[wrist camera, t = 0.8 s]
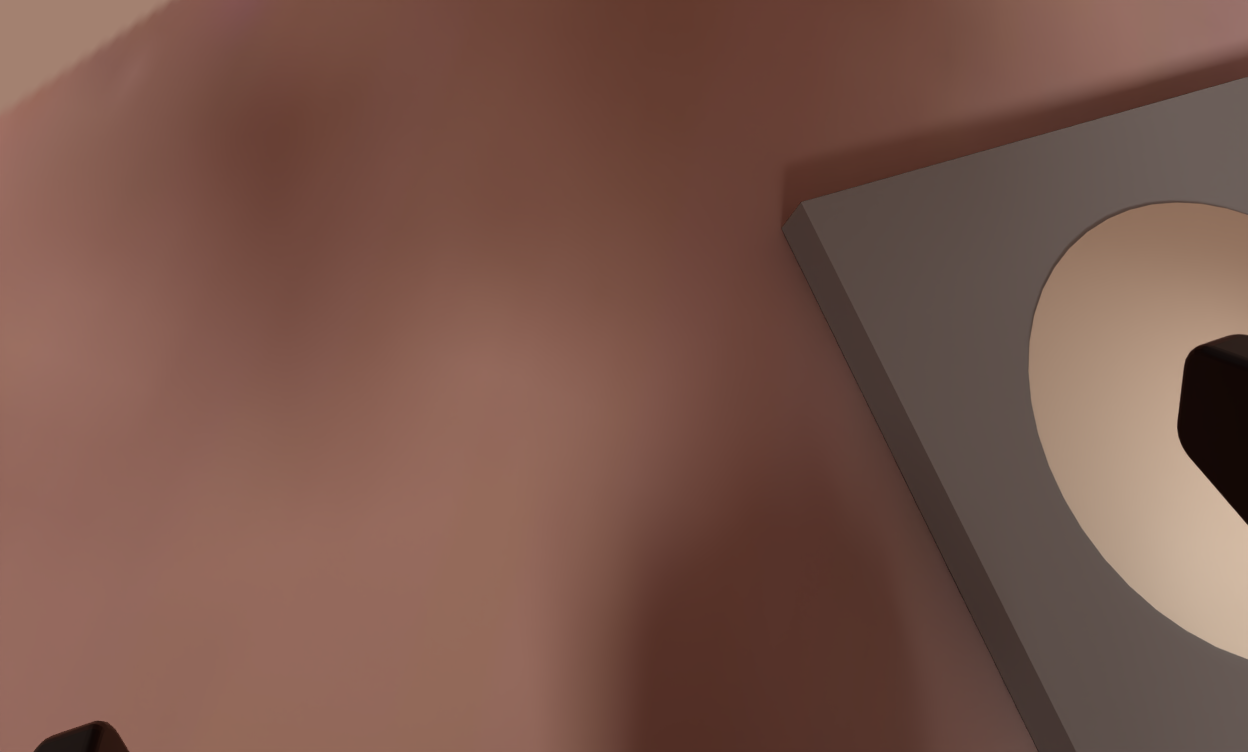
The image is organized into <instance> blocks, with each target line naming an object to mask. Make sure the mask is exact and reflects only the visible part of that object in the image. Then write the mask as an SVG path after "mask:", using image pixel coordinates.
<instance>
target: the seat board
mask: <svg viewBox="0 0 1248 752" xmlns="http://www.w3.org/2000/svg"><path fill="white" fill-rule="evenodd" d="M782 230H783V232H784V234H785V236H786V239H787V241H788V243H789V245H790V247H791V249H792V251H793V253H794V255H795V257H796V259H797V261H798V263H799V265H800V267H801V269H802V271H803V273H804V275H805V277H806V279H807V281H808V283H809V285H810V287H811V289H812V291H813V293H814V295H815V297H816V300H817V302H818V304H819V306H820V308H821V310H822V312H823V314H824V316H825V318H826V320H827V322H828V324H829V326H830V328H831V330H832V332H833V334H834V336H835V338H836V340H837V342H838V344H839V346H840V348H841V350H842V352H843V354H844V356H845V358H846V361H847V363H848V365H849V367H850V369H851V371H852V373H853V375H854V377H855V379H856V381H857V383H858V385H859V387H860V389H861V391H862V393H863V395H864V397H865V399H866V401H867V403H868V405H869V407H870V409H871V411H872V413H873V415H874V417H875V420H876V422H877V424H878V426H879V428H880V430H881V432H882V434H883V436H884V438H885V440H886V442H887V444H888V446H889V448H890V450H891V452H892V454H893V456H894V458H895V460H896V462H897V464H898V466H899V468H900V470H901V472H902V474H903V476H904V478H905V481H906V483H907V485H908V487H909V489H910V491H911V493H912V495H913V497H914V499H915V501H916V503H917V505H918V507H919V509H920V511H921V513H922V515H923V517H924V519H925V521H926V523H927V525H928V527H929V529H930V531H931V533H932V535H933V537H934V540H935V542H936V544H937V546H938V548H939V550H940V552H941V554H942V556H943V558H944V560H945V562H946V564H947V566H948V568H949V570H950V572H951V574H952V576H953V578H954V580H955V582H956V584H957V586H958V588H959V590H960V592H961V594H962V596H963V598H964V601H965V603H966V605H967V607H968V609H969V611H970V613H971V615H972V617H973V619H974V621H975V623H976V625H977V627H978V629H979V631H980V633H981V635H982V637H983V639H984V641H985V643H986V645H987V647H988V649H989V651H990V653H991V655H992V657H993V659H994V662H995V664H996V666H997V668H998V670H999V672H1000V674H1001V676H1002V678H1003V680H1004V682H1005V684H1006V686H1007V688H1008V690H1009V692H1010V694H1011V696H1012V698H1013V700H1014V702H1015V704H1016V706H1017V708H1018V710H1019V712H1020V714H1021V716H1022V718H1023V721H1024V723H1025V725H1026V727H1027V729H1028V731H1029V733H1030V735H1031V737H1032V739H1033V741H1034V743H1035V745H1036V747H1037V749H1038V751H1039V752H1248V525H1247V524H1246V523H1245V522H1244V520H1243V519H1242V518H1241V517H1240V516H1239V515H1238V513H1237V512H1236V511H1235V510H1234V509H1233V508H1232V506H1231V505H1230V504H1229V503H1228V502H1227V501H1226V499H1225V498H1224V497H1223V496H1222V495H1221V494H1220V493H1219V491H1218V490H1217V489H1216V488H1215V487H1214V486H1213V484H1212V483H1211V482H1210V481H1209V480H1208V479H1207V477H1206V476H1205V475H1204V474H1203V473H1202V472H1201V470H1200V469H1199V468H1198V467H1197V466H1196V465H1195V464H1194V462H1193V461H1192V460H1191V459H1190V458H1189V456H1188V455H1187V454H1186V452H1185V451H1184V449H1183V447H1182V445H1181V443H1180V440H1179V437H1178V432H1177V419H1178V411H1179V403H1180V394H1181V386H1182V377H1183V369H1184V363H1185V359H1186V358H1187V356H1188V354H1189V353H1190V351H1191V350H1192V349H1194V348H1195V347H1197V346H1199V345H1201V344H1204V343H1207V342H1210V341H1213V340H1216V339H1219V338H1222V337H1225V336H1228V335H1233V334H1245V335H1248V77H1245V78H1242V79H1238V80H1235V81H1231V82H1228V83H1224V84H1220V85H1217V86H1213V87H1210V88H1206V89H1203V90H1199V91H1195V92H1192V93H1188V94H1185V95H1181V96H1178V97H1174V98H1170V99H1167V100H1163V101H1160V102H1156V103H1153V104H1149V105H1146V106H1142V107H1138V108H1135V109H1131V110H1128V111H1124V112H1121V113H1117V114H1113V115H1110V116H1106V117H1103V118H1099V119H1096V120H1092V121H1088V122H1085V123H1081V124H1078V125H1074V126H1071V127H1067V128H1064V129H1060V130H1056V131H1053V132H1049V133H1046V134H1042V135H1039V136H1035V137H1031V138H1028V139H1024V140H1021V141H1017V142H1014V143H1010V144H1006V145H1003V146H999V147H996V148H992V149H989V150H985V151H982V152H978V153H974V154H971V155H967V156H964V157H960V158H957V159H953V160H949V161H946V162H942V163H939V164H935V165H932V166H928V167H924V168H921V169H917V170H914V171H910V172H907V173H903V174H900V175H896V176H892V177H889V178H885V179H882V180H878V181H875V182H871V183H867V184H864V185H860V186H857V187H853V188H850V189H846V190H842V191H839V192H835V193H832V194H828V195H825V196H821V197H818V198H814V199H810V200H807V201H803V202H801V203H800V204H799V206H798V207H797V208H796V210H795V211H794V212H793V214H792V215H791V216H790V218H789V219H788V220H787V222H786V223H785V224H784V226H783V227H782Z"/></svg>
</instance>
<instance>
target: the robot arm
mask: <svg viewBox="0 0 1248 752" xmlns="http://www.w3.org/2000/svg"><path fill="white" fill-rule="evenodd" d="M1177 432H1178V437H1179V440H1180V443H1181V445H1182V447H1183V449H1184V451H1185V452H1186V454H1187V455H1188V456H1189V458H1190V459H1191V460H1192V461H1193V462H1194V464H1195V465H1196V466H1197V467H1198V468H1199V469H1200V470H1201V472H1202V473H1203V474H1204V475H1205V476H1206V477H1207V479H1208V480H1209V481H1210V482H1211V483H1212V484H1213V486H1214V487H1215V488H1216V489H1217V490H1218V491H1219V493H1220V494H1221V495H1222V496H1223V497H1224V498H1225V499H1226V501H1227V502H1228V503H1229V504H1230V505H1231V506H1232V508H1233V509H1234V510H1235V511H1236V512H1237V513H1238V515H1239V516H1240V517H1241V518H1242V519H1243V520H1244V522H1245V523H1246V524H1247V525H1248V335H1245V334H1233V335H1228V336H1225V337H1222V338H1219V339H1216V340H1213V341H1210V342H1207V343H1204V344H1201V345H1199V346H1197V347H1195V348H1194V349H1192V350H1191V351H1190V353H1189V354H1188V356H1187V358H1186V359H1185V363H1184V369H1183V377H1182V386H1181V394H1180V403H1179V411H1178V419H1177ZM34 752H129V751H128V749H127V747H126V746H125V744H124V742H123V741H122V739H121V737H120V736H119V734H118V733H117V731H116V730H115V729H114V728H113V727H112V726H111V725H110V724H109V723H108V722H104V721H93V722H91V723H88V724H85V725H82V726H79V727H76V728H73V729H70V730H67V731H64V732H61V733H58V734H55V735H53V736H51V737H49V738H47V739H45V740H44V741H43V742H42V743H41V744H40V745H39V746H38V747H37V748H36V749H35V751H34Z"/></svg>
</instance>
